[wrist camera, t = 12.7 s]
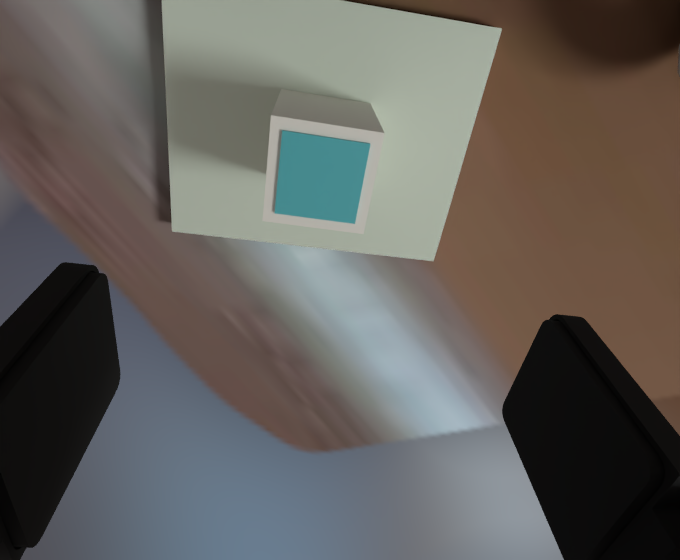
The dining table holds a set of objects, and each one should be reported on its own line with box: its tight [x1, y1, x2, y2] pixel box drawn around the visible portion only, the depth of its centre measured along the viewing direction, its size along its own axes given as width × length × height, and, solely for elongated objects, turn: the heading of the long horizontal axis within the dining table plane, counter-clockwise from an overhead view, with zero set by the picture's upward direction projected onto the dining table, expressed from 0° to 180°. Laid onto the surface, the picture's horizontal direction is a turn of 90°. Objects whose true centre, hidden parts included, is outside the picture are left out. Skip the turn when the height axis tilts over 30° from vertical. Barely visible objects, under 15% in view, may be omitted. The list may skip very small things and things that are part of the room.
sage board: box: [162, 0, 502, 261], centre depth 25 cm, size 13×16×1 cm
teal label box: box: [263, 89, 385, 234], centre depth 22 cm, size 5×5×6 cm
